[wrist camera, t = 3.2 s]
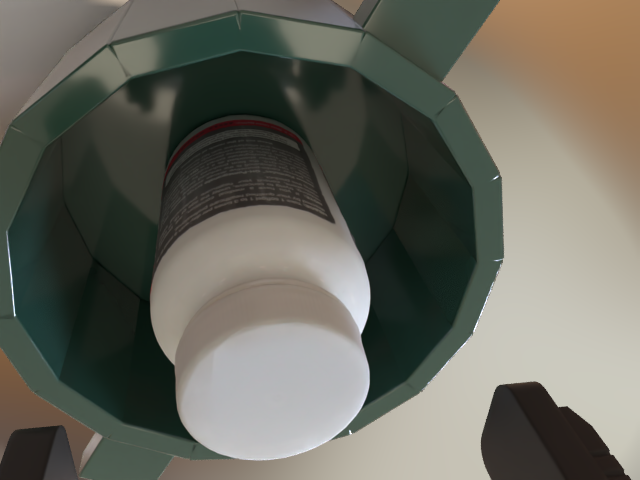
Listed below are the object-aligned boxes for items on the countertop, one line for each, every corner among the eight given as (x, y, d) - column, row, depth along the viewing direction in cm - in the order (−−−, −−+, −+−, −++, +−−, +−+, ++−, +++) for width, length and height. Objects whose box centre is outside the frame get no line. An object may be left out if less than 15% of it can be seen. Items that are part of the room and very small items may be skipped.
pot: (-46, 310, 20) (-131, 456, 15) (193, -239, 14) (192, -318, 9) (270, 408, 26) (288, 541, 21) (548, 47, 19) (680, 106, 14)
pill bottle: (128, 187, 19) (76, 414, 11) (243, 75, 18) (284, 234, 10) (244, 277, 22) (273, 513, 13) (351, 184, 20) (455, 382, 12)
